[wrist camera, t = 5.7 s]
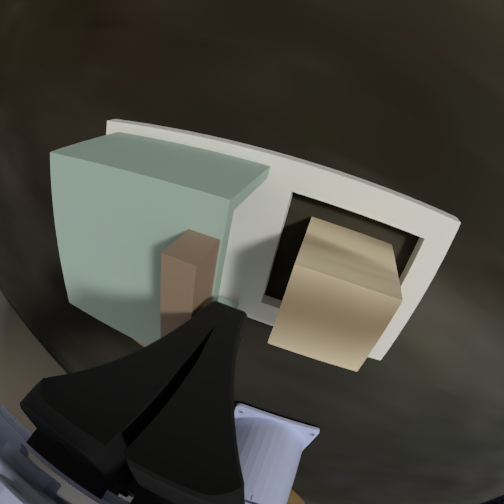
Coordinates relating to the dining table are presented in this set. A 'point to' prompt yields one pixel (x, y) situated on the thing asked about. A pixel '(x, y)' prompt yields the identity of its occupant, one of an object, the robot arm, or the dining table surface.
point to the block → (338, 296)
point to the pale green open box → (146, 228)
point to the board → (275, 212)
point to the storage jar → (497, 500)
